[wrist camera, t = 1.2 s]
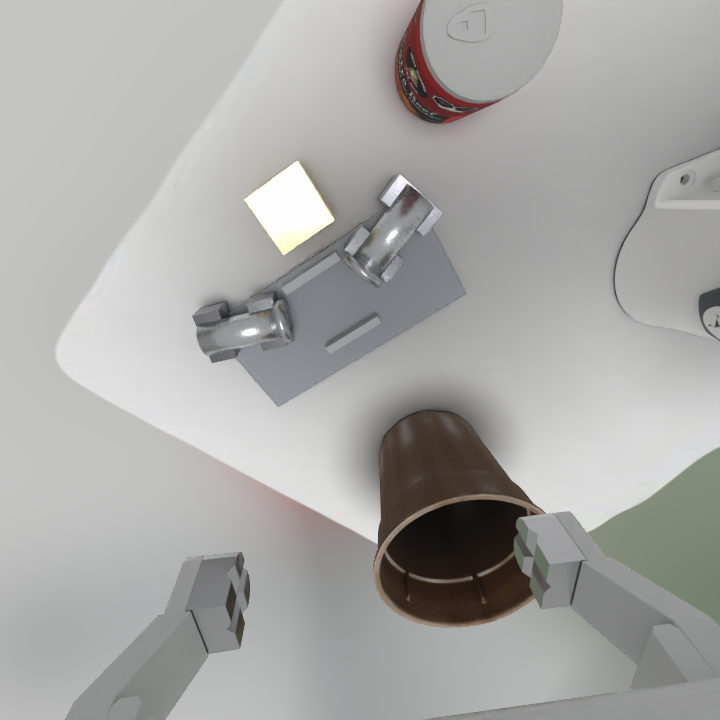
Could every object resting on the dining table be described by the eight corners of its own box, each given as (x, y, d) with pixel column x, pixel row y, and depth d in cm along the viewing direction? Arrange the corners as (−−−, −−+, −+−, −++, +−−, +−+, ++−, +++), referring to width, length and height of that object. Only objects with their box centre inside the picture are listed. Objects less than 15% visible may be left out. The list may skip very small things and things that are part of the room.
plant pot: (332, 455, 47) (333, 580, 33) (430, 365, 43) (482, 462, 28) (422, 519, 53) (458, 649, 38) (518, 444, 48) (599, 559, 34)
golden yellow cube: (301, 163, 34) (297, 160, 29) (333, 215, 36) (334, 220, 31) (255, 196, 35) (244, 199, 30) (289, 245, 37) (283, 255, 32)
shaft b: (218, 352, 39) (206, 372, 35) (200, 307, 37) (184, 323, 33) (297, 334, 39) (294, 352, 35) (283, 288, 37) (277, 302, 33)
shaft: (395, 174, 34) (404, 173, 30) (435, 210, 35) (449, 214, 31) (338, 252, 36) (339, 261, 32) (378, 282, 38) (384, 295, 33)
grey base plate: (411, 190, 35) (415, 191, 33) (463, 291, 40) (470, 297, 38) (212, 324, 39) (205, 332, 37) (279, 402, 43) (276, 413, 41)
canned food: (377, 42, 31) (400, -24, 21) (472, -14, 30) (545, -111, 20) (414, 143, 34) (450, 128, 24) (502, 95, 33) (577, 59, 23)
